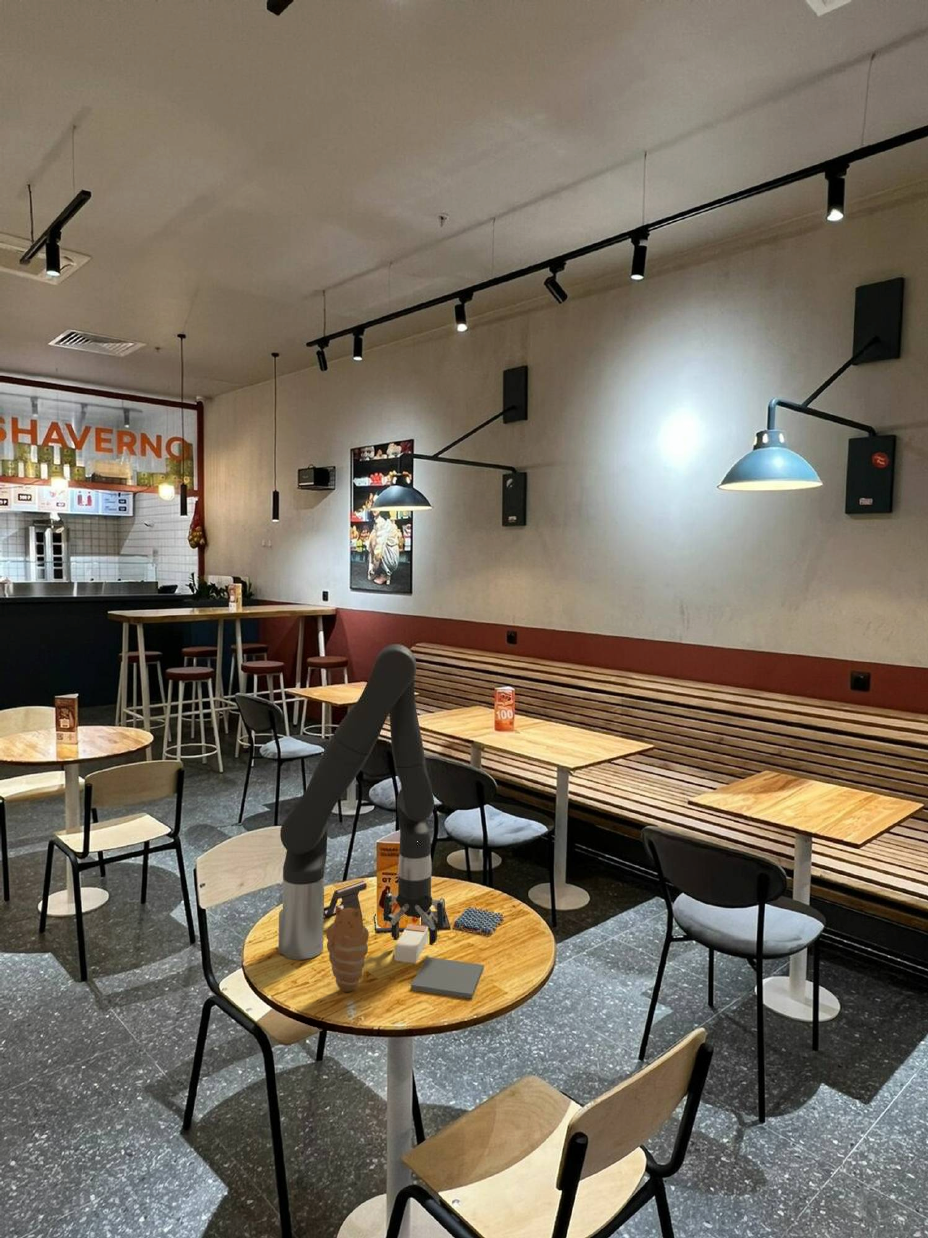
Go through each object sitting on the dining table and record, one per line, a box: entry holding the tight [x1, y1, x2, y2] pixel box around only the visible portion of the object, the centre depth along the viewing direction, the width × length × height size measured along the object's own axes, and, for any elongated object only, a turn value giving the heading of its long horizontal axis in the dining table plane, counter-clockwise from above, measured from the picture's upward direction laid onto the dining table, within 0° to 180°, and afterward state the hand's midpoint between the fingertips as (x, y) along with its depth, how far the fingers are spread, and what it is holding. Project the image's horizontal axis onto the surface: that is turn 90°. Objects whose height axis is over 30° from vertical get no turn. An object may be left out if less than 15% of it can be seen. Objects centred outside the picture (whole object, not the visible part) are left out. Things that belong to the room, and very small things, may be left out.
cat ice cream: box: [325, 905, 370, 993], centre depth 158 cm, size 9×8×18 cm
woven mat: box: [452, 906, 505, 937], centre depth 190 cm, size 10×11×2 cm
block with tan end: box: [393, 924, 429, 964], centre depth 176 cm, size 11×5×4 cm, turn 169°
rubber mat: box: [410, 956, 485, 999], centre depth 164 cm, size 13×12×1 cm
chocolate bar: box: [374, 910, 451, 934], centre depth 190 cm, size 9×1×18 cm
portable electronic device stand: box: [324, 880, 368, 918], centre depth 193 cm, size 9×8×8 cm
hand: (414, 941), depth 176 cm, fingers open, 8 cm apart
